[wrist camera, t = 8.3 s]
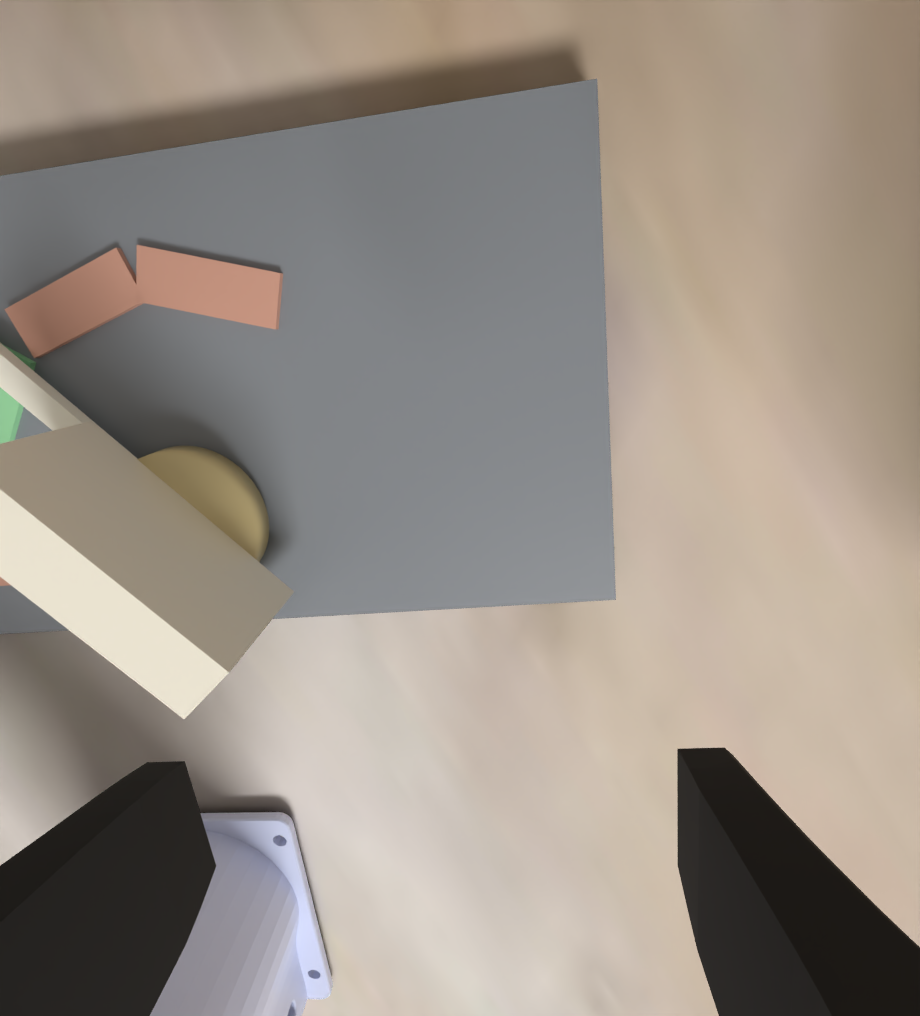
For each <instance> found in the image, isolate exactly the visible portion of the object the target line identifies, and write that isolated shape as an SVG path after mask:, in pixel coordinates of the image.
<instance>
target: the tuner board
mask: <svg viewBox="0 0 920 1016" xmlns="http://www.w3.org/2000/svg"><path fill="white" fill-rule="evenodd" d="M0 343H1V344H2V345H3V346H5V347H6V348H7V349H8V350H9V351H11V352H12V353H13V354H14V355H15V356H17V357H18V358H19V359H20V360H21V361H22V362H24V363H25V364H26V365H27V366H28V367H30V368H31V369H32V370H33V371H34V372H35V373H37V374H38V375H39V376H40V377H41V378H43V379H44V380H45V381H46V382H47V383H48V384H50V385H51V386H52V387H53V388H54V389H56V390H57V391H58V392H59V393H60V394H62V395H63V396H64V397H65V398H66V399H67V400H69V401H70V402H71V403H72V404H73V405H75V406H76V407H77V408H78V409H79V410H80V411H82V412H83V413H84V414H85V415H86V416H88V417H89V418H90V419H91V420H92V421H94V422H95V423H96V424H97V425H98V426H99V427H101V428H102V429H103V430H104V431H105V432H107V433H108V434H109V435H110V436H111V437H112V438H114V439H115V440H116V441H117V442H118V443H120V444H121V445H122V446H123V447H124V448H126V449H127V450H128V451H129V452H130V453H131V454H133V455H134V456H135V457H136V458H137V459H139V458H141V457H144V456H146V455H149V454H152V453H154V452H157V451H160V450H162V449H165V448H169V447H173V446H195V447H201V448H205V449H208V450H211V451H214V452H216V453H218V454H220V455H223V456H224V457H226V458H228V459H229V460H231V461H232V462H233V463H235V464H236V465H237V466H239V467H240V468H241V469H242V470H243V471H244V472H245V473H246V474H247V475H248V476H249V478H250V479H251V480H252V481H253V482H254V484H255V486H256V487H257V489H258V490H259V492H260V494H261V496H262V498H263V500H264V503H265V506H266V509H267V514H268V518H269V538H268V543H267V547H266V550H265V553H264V555H263V557H262V558H261V560H260V563H261V564H262V565H263V566H264V567H265V568H267V569H268V570H269V571H270V572H271V573H273V574H274V575H275V576H276V577H277V578H279V579H280V580H281V581H282V582H283V583H284V584H286V585H287V586H288V587H289V588H290V589H292V590H293V591H294V593H293V594H292V595H291V596H290V598H289V599H288V600H287V601H286V603H285V604H284V605H283V606H282V608H281V609H280V610H279V611H278V612H277V614H276V615H275V616H274V617H273V619H280V618H298V617H316V616H334V615H352V614H370V613H387V612H405V611H423V610H441V609H459V608H476V607H494V606H512V605H530V604H548V603H566V602H583V601H601V600H616V591H615V563H614V536H613V508H612V480H611V452H610V424H609V396H608V368H607V340H606V312H605V284H604V257H603V229H602V201H601V173H600V145H599V117H598V89H597V79H592V80H586V81H580V82H574V83H568V84H562V85H556V86H549V87H543V88H537V89H531V90H525V91H519V92H513V93H506V94H500V95H494V96H488V97H482V98H476V99H470V100H463V101H457V102H451V103H445V104H439V105H433V106H427V107H420V108H414V109H408V110H402V111H396V112H390V113H383V114H377V115H371V116H365V117H359V118H353V119H347V120H340V121H334V122H328V123H322V124H316V125H310V126H304V127H297V128H291V129H285V130H279V131H273V132H267V133H261V134H254V135H248V136H242V137H236V138H230V139H224V140H218V141H211V142H205V143H199V144H193V145H187V146H181V147H175V148H168V149H162V150H156V151H150V152H144V153H138V154H132V155H125V156H119V157H113V158H107V159H101V160H95V161H89V162H82V163H76V164H70V165H64V166H58V167H52V168H45V169H39V170H33V171H27V172H21V173H15V174H9V175H2V176H0ZM49 431H52V430H51V429H50V428H49V427H47V426H46V425H45V424H44V423H43V422H41V421H40V420H39V419H38V418H37V417H35V416H34V415H33V414H32V413H31V412H29V411H28V410H27V409H26V408H25V407H23V406H22V405H21V404H20V403H19V402H17V401H16V400H15V399H14V398H13V397H11V396H10V395H9V394H8V393H7V392H5V391H4V390H3V389H2V388H1V387H0V444H1V443H5V442H9V441H13V440H17V439H21V438H25V437H29V436H33V435H37V434H41V433H45V432H49ZM67 630H68V629H67V628H66V627H64V626H63V625H62V624H60V623H59V622H58V621H57V620H55V619H54V618H53V617H51V616H50V615H49V614H48V613H46V612H45V611H44V610H42V609H41V608H40V607H39V606H37V605H36V604H35V603H33V602H32V601H31V600H29V599H28V598H27V597H26V596H24V595H23V594H22V593H20V592H19V591H18V590H17V589H15V588H14V587H13V586H11V585H10V584H9V583H8V582H6V581H5V580H4V579H2V578H1V577H0V634H13V633H31V632H49V631H67Z"/></svg>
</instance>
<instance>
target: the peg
mask: <svg viewBox="0 0 920 1016" xmlns="http://www.w3.org/2000/svg"><path fill="white" fill-rule="evenodd" d="M0 387H1V388H2V389H3V390H4V391H5V392H7V393H8V394H9V395H10V396H11V397H13V398H14V399H15V400H16V401H17V402H19V403H20V404H21V405H22V406H23V407H25V408H26V409H27V410H28V411H29V412H31V413H32V414H33V415H34V416H35V417H37V418H38V419H39V420H40V421H41V422H43V423H44V424H45V425H46V426H47V427H49V428H50V429H51V430H52V431H49V432H45V433H41V434H37V435H33V436H29V437H25V438H21V439H17V440H13V441H9V442H5V443H1V444H0V577H1V578H2V579H4V580H5V581H6V582H8V583H9V584H10V585H11V586H13V587H14V588H15V589H17V590H18V591H19V592H20V593H22V594H23V595H24V596H26V597H27V598H28V599H29V600H31V601H32V602H33V603H35V604H36V605H37V606H39V607H40V608H41V609H42V610H44V611H45V612H46V613H48V614H49V615H50V616H51V617H53V618H54V619H55V620H57V621H58V622H59V623H60V624H62V625H63V626H64V627H66V628H67V629H68V630H69V631H71V632H72V633H73V634H75V635H76V636H77V637H78V638H80V639H81V640H82V641H84V642H85V643H86V644H88V645H89V646H90V647H91V648H93V649H94V650H95V651H97V652H98V653H99V654H100V655H102V656H103V657H104V658H106V659H107V660H108V661H109V662H111V663H112V664H113V665H115V666H116V667H117V668H118V669H120V670H121V671H122V672H124V673H125V674H126V675H127V676H129V677H130V678H131V679H133V680H134V681H135V682H137V683H138V684H139V685H140V686H142V687H143V688H144V689H146V690H147V691H148V692H149V693H151V694H152V695H153V696H155V697H156V698H157V699H158V700H160V701H161V702H162V703H164V704H165V705H166V706H167V707H169V708H170V709H171V710H173V711H174V712H175V713H176V714H178V715H179V716H180V717H182V718H183V719H185V718H186V717H187V716H188V715H189V714H190V713H191V712H192V711H193V710H194V709H195V708H196V707H197V706H198V705H199V704H200V702H201V701H202V700H203V699H204V698H205V697H206V696H207V695H208V694H209V693H210V692H211V691H212V690H213V689H214V688H215V687H216V686H217V685H218V684H219V682H220V681H221V680H222V679H223V678H224V677H225V676H226V675H227V674H228V673H229V672H230V671H231V669H232V668H233V667H234V666H235V664H236V663H237V662H238V661H239V660H240V658H241V657H242V656H243V655H244V653H245V652H246V651H247V650H248V648H249V647H250V646H251V645H252V643H253V642H254V641H255V640H256V638H257V637H258V636H259V635H260V634H261V632H262V631H263V630H264V629H265V627H266V626H267V625H268V624H269V622H270V621H271V620H272V619H273V617H274V616H275V615H276V614H277V612H278V611H279V610H280V609H281V608H282V606H283V605H284V604H285V603H286V601H287V600H288V599H289V598H290V596H291V595H292V594H293V593H294V591H293V590H292V589H290V588H289V587H288V586H287V585H286V584H284V583H283V582H282V581H281V580H280V579H279V578H277V577H276V576H275V575H274V574H273V573H271V572H270V571H269V570H268V569H267V568H265V567H264V566H263V565H262V564H261V563H260V560H261V558H262V557H263V555H264V553H265V550H266V547H267V543H268V538H269V518H268V514H267V509H266V506H265V503H264V500H263V498H262V496H261V494H260V492H259V490H258V489H257V487H256V486H255V484H254V482H253V481H252V480H251V479H250V478H249V476H248V475H247V474H246V473H245V472H244V471H243V470H242V469H241V468H240V467H239V466H237V465H236V464H235V463H233V462H232V461H231V460H229V459H228V458H226V457H224V456H223V455H220V454H218V453H216V452H214V451H211V450H208V449H205V448H201V447H195V446H173V447H169V448H165V449H162V450H160V451H157V452H154V453H152V454H149V455H146V456H144V457H141V458H139V459H137V458H136V457H135V456H134V455H133V454H131V453H130V452H129V451H128V450H127V449H126V448H124V447H123V446H122V445H121V444H120V443H118V442H117V441H116V440H115V439H114V438H112V437H111V436H110V435H109V434H108V433H107V432H105V431H104V430H103V429H102V428H101V427H99V426H98V425H97V424H96V423H95V422H94V421H92V420H91V419H90V418H89V417H88V416H86V415H85V414H84V413H83V412H82V411H80V410H79V409H78V408H77V407H76V406H75V405H73V404H72V403H71V402H70V401H69V400H67V399H66V398H65V397H64V396H63V395H62V394H60V393H59V392H58V391H57V390H56V389H54V388H53V387H52V386H51V385H50V384H48V383H47V382H46V381H45V380H44V379H43V378H41V377H40V376H39V375H38V374H37V373H35V372H34V371H33V370H32V369H31V368H30V367H28V366H27V365H26V364H25V363H24V362H22V361H21V360H20V359H19V358H18V357H17V356H15V355H14V354H13V353H12V352H11V351H9V350H8V349H7V348H6V347H5V346H3V345H2V344H1V343H0Z"/></svg>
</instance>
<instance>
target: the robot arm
mask: <svg viewBox="0 0 920 1016" xmlns="http://www.w3.org/2000/svg"><path fill="white" fill-rule="evenodd" d="M281 836H283V837H281ZM678 868H679V873H680V877H681V881H682V886H683V890H684V895H685V899H686V904H687V908H688V912H689V916H690V921H691V925H692V929H693V933H694V937H695V942H696V946H697V950H698V953H699V956H700V959H701V962H702V965H703V968H704V972H705V975H706V978H707V981H708V984H709V987H710V990H711V993H712V996H713V999H714V1002H715V1005H716V1008H717V1011H718V1014H719V1016H920V947H919V946H918V945H917V944H916V943H915V942H913V941H912V940H911V939H910V938H909V937H908V936H907V935H906V934H905V933H904V932H903V931H902V930H901V929H900V928H899V927H898V926H897V925H896V924H894V923H893V922H892V921H891V920H890V919H889V918H888V917H887V916H886V915H885V914H884V913H883V912H882V911H881V910H880V909H879V908H878V907H877V906H876V905H875V904H874V903H873V902H872V901H871V900H870V899H869V898H868V897H867V896H866V895H865V894H864V893H863V892H862V891H861V890H860V889H859V888H858V887H857V886H856V885H855V884H854V883H853V882H852V881H851V880H850V879H849V878H848V877H847V876H846V875H845V874H844V873H843V872H842V871H841V870H840V869H839V868H838V867H837V866H836V865H835V864H834V863H833V862H832V861H831V860H830V859H829V858H828V857H827V856H826V855H825V854H824V853H823V852H822V851H821V850H820V849H819V848H818V847H817V846H816V845H815V844H814V843H813V842H812V841H811V840H810V839H809V838H808V837H807V836H806V835H805V833H804V832H803V831H802V830H801V829H800V828H799V827H798V826H797V825H796V824H795V823H794V822H793V821H792V820H791V819H790V818H789V816H788V815H787V814H786V813H785V812H784V811H783V810H782V809H781V808H780V807H779V806H778V805H777V804H776V802H775V801H774V800H773V799H772V798H771V797H770V796H769V795H768V794H767V793H766V792H765V790H764V789H763V788H762V787H761V786H760V785H759V784H758V783H757V782H756V781H755V779H754V778H753V777H752V776H751V775H750V774H749V773H748V772H747V770H746V769H745V768H744V767H743V766H742V765H741V764H740V763H739V761H738V760H737V759H736V758H735V757H734V756H733V755H732V754H731V753H730V752H729V751H728V750H726V749H725V748H693V749H678ZM332 987H333V982H332V978H331V974H330V970H329V966H328V961H327V957H326V953H325V949H324V945H323V941H322V937H321V933H320V929H319V925H318V921H317V917H316V913H315V909H314V905H313V901H312V897H311V892H310V888H309V884H308V880H307V876H306V872H305V868H304V864H303V860H302V856H301V852H300V848H299V844H298V840H297V836H296V832H295V827H294V823H293V821H292V819H291V818H290V817H289V816H288V815H287V814H285V813H282V812H248V813H200V811H199V807H198V804H197V801H196V797H195V794H194V791H193V787H192V784H191V781H190V778H189V774H188V771H187V768H186V764H185V761H183V762H147V763H146V764H144V765H143V766H141V767H139V768H138V769H136V770H135V771H133V772H132V773H130V774H129V775H127V776H126V777H124V778H123V779H121V780H120V781H118V782H117V783H115V784H114V785H112V786H111V787H109V788H108V789H107V790H105V791H104V792H102V793H101V794H100V795H98V796H97V797H95V798H94V799H92V800H91V801H90V802H88V803H87V804H85V805H84V806H83V807H81V808H80V809H79V810H77V811H76V812H74V813H73V814H72V815H70V816H69V817H67V818H66V819H65V820H63V821H62V822H60V823H59V824H58V825H56V826H55V827H54V828H52V829H51V830H49V831H48V832H47V833H45V834H44V835H42V836H41V837H40V838H38V839H37V840H35V841H34V842H33V843H31V844H30V845H29V846H27V847H26V848H24V849H23V850H22V851H20V852H19V853H17V854H16V855H15V856H13V857H12V858H10V859H9V860H8V861H6V862H5V863H3V864H2V865H1V866H0V1016H302V1014H303V1011H304V1008H305V1004H306V1001H307V999H325V998H327V997H329V995H330V994H331V990H332Z"/></svg>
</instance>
